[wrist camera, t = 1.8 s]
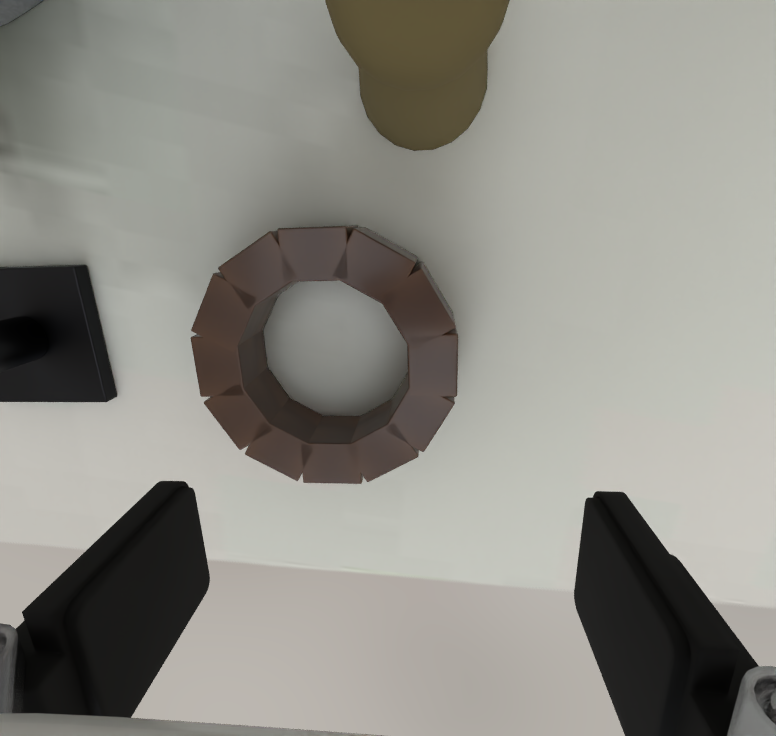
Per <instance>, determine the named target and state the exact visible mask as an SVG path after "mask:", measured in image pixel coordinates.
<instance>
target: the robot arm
mask: <svg viewBox="0 0 776 736" xmlns="http://www.w3.org/2000/svg"><path fill="white" fill-rule="evenodd" d="M209 581H210V577H209V570H208V565H207V558H206V553H205V547H204V542H203V536H202V530H201V525H200V519H199V514H198V508H197V502H196V497H195V492H194V490H193V488H189V487H188V485H187V483H186V482H184V481H160V482H158V483H157V484H156V485H155V486H154V487H153V488H152V489H151V490H150V491H149V492H147V493H146V494H145V495H144V496H143V497H142V498H141V499H140V500H139V501H138V502H137V503H136V504H135V505H134V506H133V507H132V508H131V509H130V510H129V511H128V512H126V513H125V514H124V515H123V516H122V517H121V518H120V519H119V520H118V521H117V522H116V523H115V524H114V525H113V526H112V527H111V528H110V529H109V530H108V531H107V532H105V533H104V534H103V535H102V536H101V537H100V538H99V539H98V540H97V541H96V542H95V543H94V544H93V545H92V546H91V547H90V548H89V549H88V550H87V551H86V552H85V553H83V554H82V555H81V556H80V557H79V558H78V559H77V560H76V561H75V562H74V563H73V564H72V565H71V566H70V567H69V568H68V569H67V570H66V571H65V572H63V573H62V574H61V575H60V576H59V577H58V578H57V579H56V580H55V581H54V582H53V583H52V584H51V585H50V586H49V587H48V588H47V589H46V590H45V591H44V592H42V593H41V594H40V595H39V596H38V597H37V598H36V599H35V600H34V601H33V602H32V603H31V604H30V605H29V606H28V607H27V608H26V609H25V610H24V611H23V612H22V613H23V616H24V620H25V621H24V622H23V623H22V624H21V625H20V626H18V627H17V628H16V629H15V628H13V627H12V626H11V625H7V624H0V736H382V735H368V734H355V733H340V732H328V731H314V730H301V729H286V728H273V727H259V726H245V725H230V724H215V723H200V722H184V721H171V720H170V721H169V720H155V719H141V718H140V719H139V718H131V716H132V715H133V713H134V712H135V710H136V708H137V706H138V705H139V703H140V702H141V700H142V698H143V697H144V695H145V693H146V692H147V690H148V688H149V687H150V685H151V683H152V682H153V680H154V678H155V677H156V675H157V673H158V672H159V670H160V668H161V667H162V665H163V664H164V662H165V660H166V659H167V657H168V655H169V654H170V652H171V650H172V649H173V647H174V645H175V644H176V642H177V640H178V638H179V637H180V635H181V633H182V632H183V630H184V629H185V627H186V625H187V624H188V622H189V620H190V619H191V617H192V615H193V614H194V612H195V610H196V609H197V607H198V606H199V604H200V602H201V601H202V599H203V597H204V596H205V594H206V592H207V590H208V587H209ZM574 599H575V605H576V609H577V612H578V614H579V617H580V620H581V622H582V625H583V627H584V630H585V633H586V635H587V638H588V640H589V643H590V646H591V648H592V651H593V653H594V656H595V659H596V661H597V664H598V666H599V669H600V671H601V673H602V677H603V679H604V682H605V685H606V687H607V690H608V692H609V695H610V697H611V700H612V703H613V705H614V708H615V710H616V713H617V715H618V718H619V721H620V723H621V726H622V728H623V731H624V734H625V736H776V667H773V666H762V667H760V666H758V665H757V663H756V662H755V661H754V659H753V658H752V657H751V655H750V654H749V653H748V651H747V650H746V649H745V647H744V646H743V645H742V643H741V642H740V641H739V639H738V638H737V637H736V635H735V634H734V633H733V631H732V630H731V629H730V627H729V626H728V625H727V623H726V622H725V621H724V619H723V618H722V616H721V615H720V614H719V612H718V611H717V610H716V608H715V607H714V606H713V604H712V603H711V602H710V600H709V599H708V598H707V596H706V595H705V594H704V592H703V591H702V590H701V588H700V587H699V586H698V584H697V583H696V582H695V580H694V579H693V578H692V576H691V575H690V574H689V572H688V571H687V570H686V568H685V567H684V566H683V564H682V563H681V562H680V561H679V560H678V559H677V558H676V557H675V556H673V555H671V554H669V553H668V551H667V550H666V549H665V547H664V546H663V544H662V543H661V542H660V540H659V539H658V538H657V536H656V535H655V534H654V532H653V531H652V529H651V528H650V527H649V525H648V524H647V523H646V521H645V520H644V519H643V517H642V516H641V514H640V513H639V512H638V510H637V509H636V508H635V506H634V505H633V504H632V502H631V501H630V500H629V498H628V497H627V495H626V494H625V493H623V492H602V491H597V492H595V494H594V496H593V498H587V499H586V502H585V508H584V516H583V525H582V533H581V541H580V549H579V557H578V566H577V574H576V582H575V590H574Z"/></svg>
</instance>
